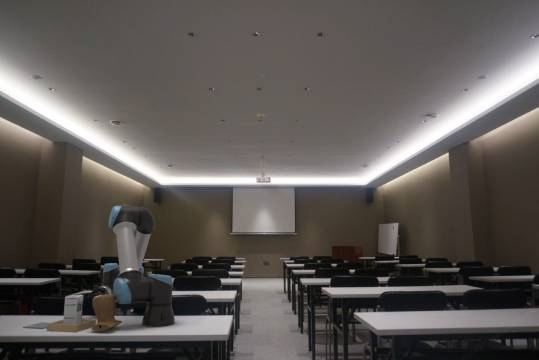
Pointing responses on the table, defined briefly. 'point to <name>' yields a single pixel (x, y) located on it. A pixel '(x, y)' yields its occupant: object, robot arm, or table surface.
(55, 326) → the mailer box
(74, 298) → the syrup box
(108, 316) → the stone cup
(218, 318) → the table surface
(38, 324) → the slate pad
